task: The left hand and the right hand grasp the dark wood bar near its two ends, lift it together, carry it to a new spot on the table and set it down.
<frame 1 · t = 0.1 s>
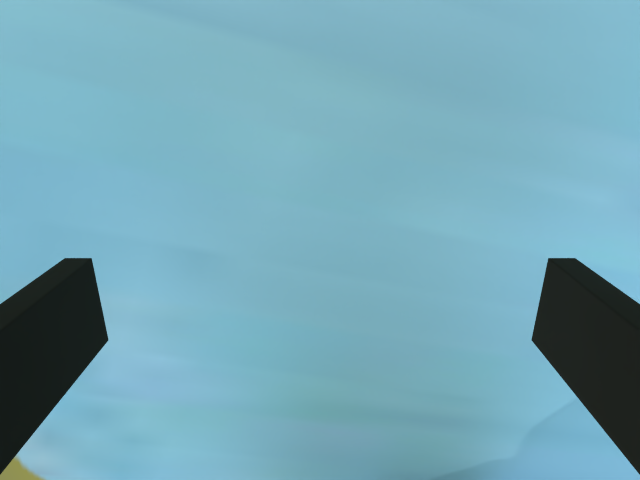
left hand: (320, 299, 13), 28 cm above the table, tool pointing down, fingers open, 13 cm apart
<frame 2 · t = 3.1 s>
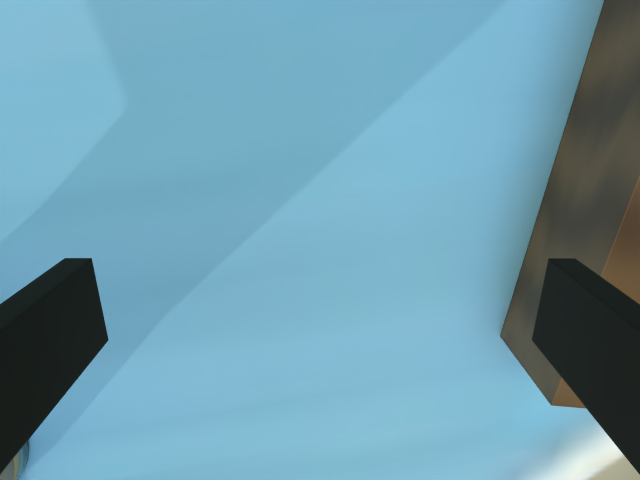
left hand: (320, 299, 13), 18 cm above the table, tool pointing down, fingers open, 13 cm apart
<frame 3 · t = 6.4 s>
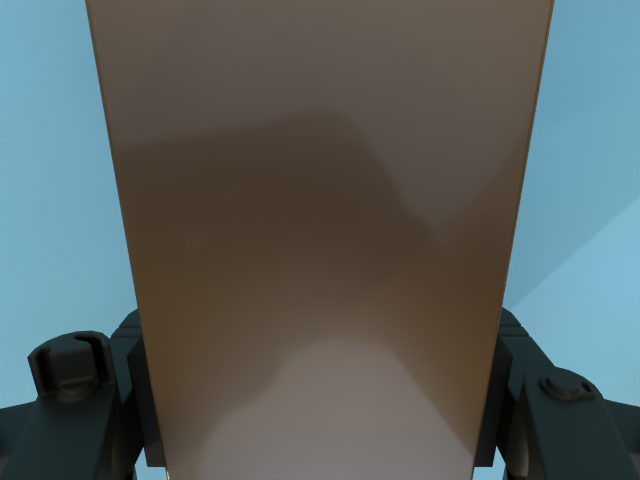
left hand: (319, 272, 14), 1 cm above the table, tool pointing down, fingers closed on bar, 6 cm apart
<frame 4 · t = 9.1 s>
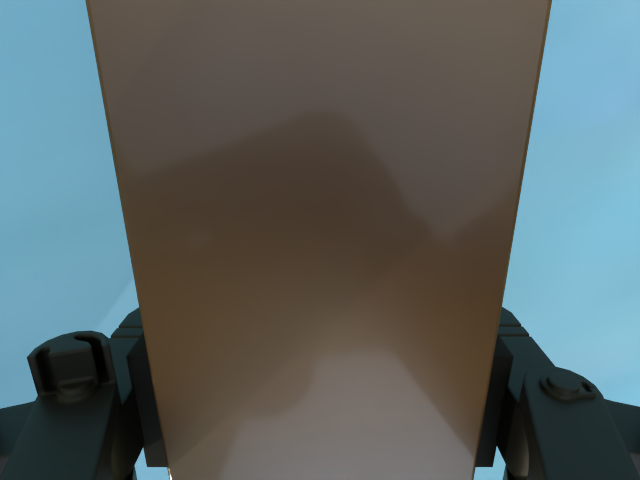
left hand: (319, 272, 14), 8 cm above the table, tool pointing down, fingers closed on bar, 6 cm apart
when the right hand's fingers open (2 cm above the table, at t = 11.6 s): bar drops 1 cm, on the table.
when the left hand's fingers open (2 cm above the table, at t = 11.7 s): bar stays where it is, on the table.
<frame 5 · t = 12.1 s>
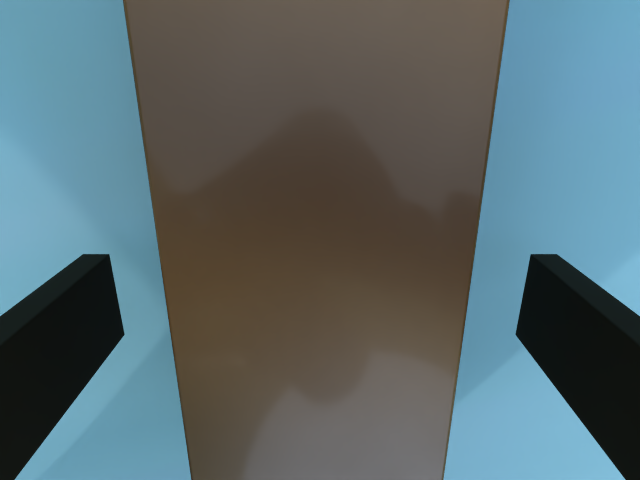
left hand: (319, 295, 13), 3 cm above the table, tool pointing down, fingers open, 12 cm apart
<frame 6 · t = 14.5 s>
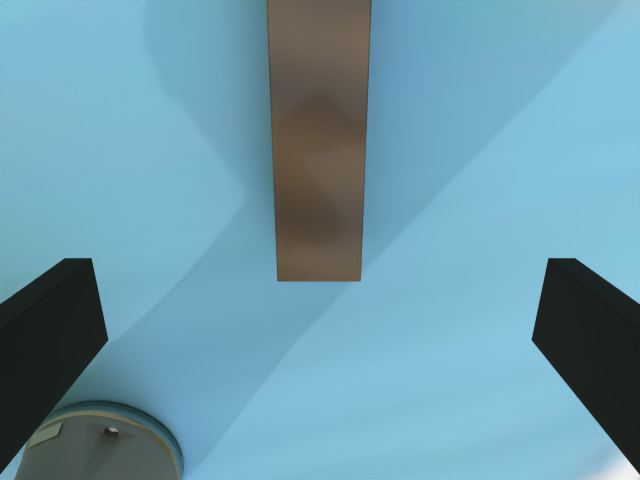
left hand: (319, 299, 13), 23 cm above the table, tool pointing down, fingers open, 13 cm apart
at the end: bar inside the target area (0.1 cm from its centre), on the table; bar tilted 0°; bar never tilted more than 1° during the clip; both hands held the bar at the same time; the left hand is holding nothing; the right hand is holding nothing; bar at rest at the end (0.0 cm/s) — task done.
